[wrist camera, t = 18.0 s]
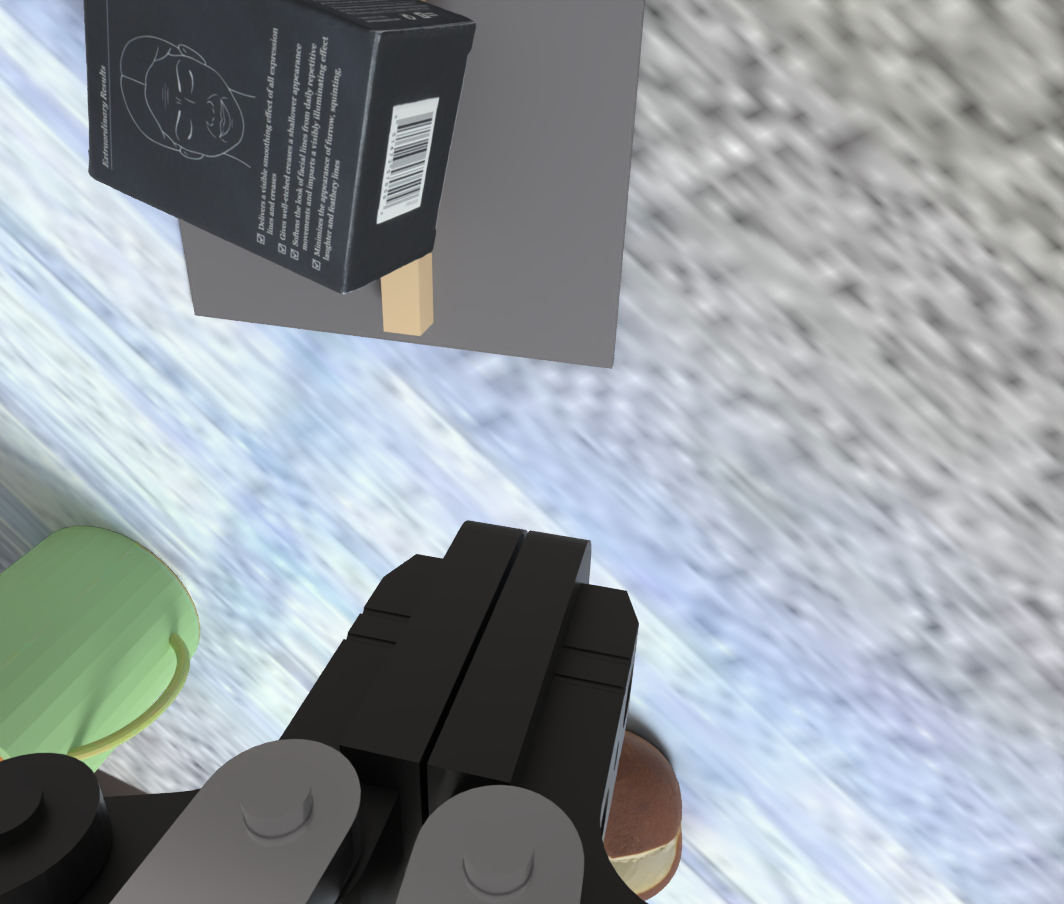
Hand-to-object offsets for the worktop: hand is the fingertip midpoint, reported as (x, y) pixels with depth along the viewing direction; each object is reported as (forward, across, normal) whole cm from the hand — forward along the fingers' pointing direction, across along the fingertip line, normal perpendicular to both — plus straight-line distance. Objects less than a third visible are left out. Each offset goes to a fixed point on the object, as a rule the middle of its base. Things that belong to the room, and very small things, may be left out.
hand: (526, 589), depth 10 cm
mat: (+23, +11, -1) cm, 26 cm away
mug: (+23, +27, +25) cm, 43 cm away
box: (+18, +8, -1) cm, 19 cm away
